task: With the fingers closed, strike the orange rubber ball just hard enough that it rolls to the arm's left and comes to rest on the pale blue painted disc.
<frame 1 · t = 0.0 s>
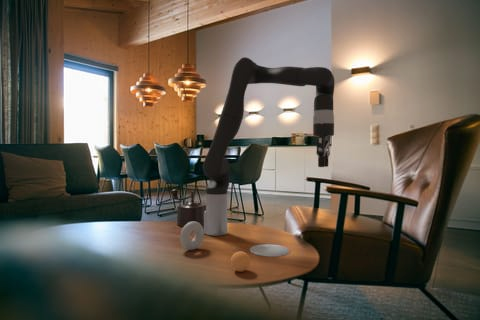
hand: (323, 166, 114), 29 cm above the table, tool pointing down, fingers open, 8 cm apart
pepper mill: (188, 226, 148), on the table
donut: (192, 250, 108), on the table
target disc: (269, 250, 108), on the table
ball: (240, 261, 88), on the table
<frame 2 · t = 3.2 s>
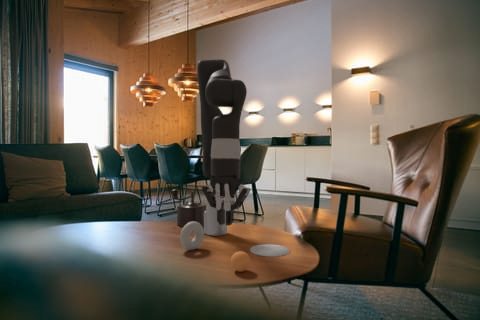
hand: (225, 224, 79), 15 cm above the table, tool pointing down, fingers closed
nothing on the table moved.
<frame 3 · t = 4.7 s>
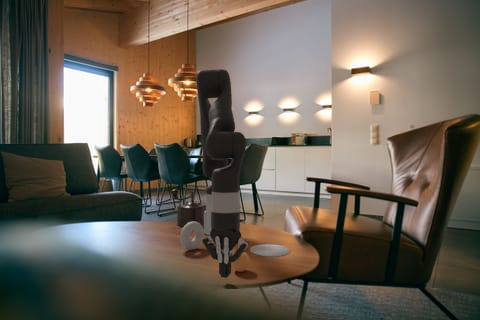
hand: (225, 276, 79), 2 cm above the table, tool pointing down, fingers closed
nothing on the table moved.
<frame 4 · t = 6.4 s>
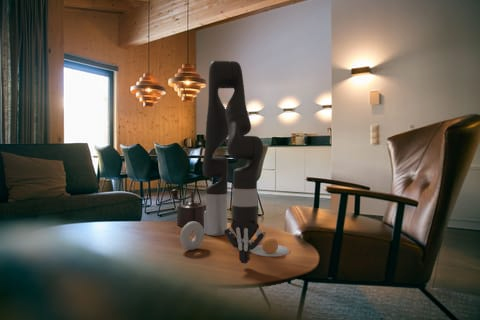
hand: (244, 262, 90), 2 cm above the table, tool pointing down, fingers closed
ball: (270, 245, 105), on the table
everything else where it was.
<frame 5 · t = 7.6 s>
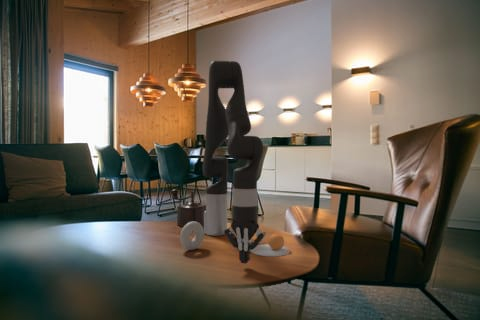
hand: (244, 262, 90), 2 cm above the table, tool pointing down, fingers closed
ball: (276, 241, 109), on the table
everything else where it was.
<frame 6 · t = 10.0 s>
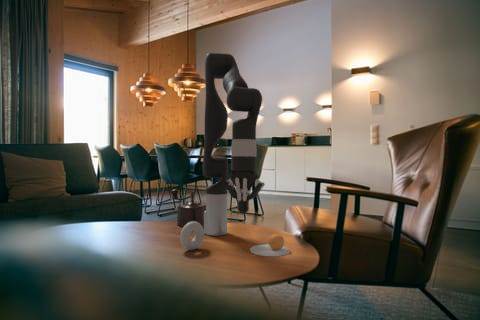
hand: (243, 213, 92), 16 cm above the table, tool pointing down, fingers closed
nothing on the table moved.
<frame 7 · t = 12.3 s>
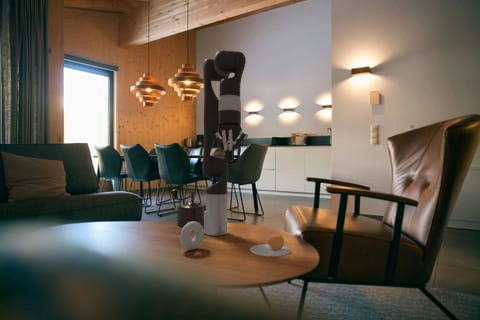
hand: (229, 161, 104), 31 cm above the table, tool pointing down, fingers closed
nothing on the table moved.
at the end: ball 2.5 cm from the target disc (horizontally); ball at rest at the end (0.0 cm/s); ball moved 24.9 cm from its start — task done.
